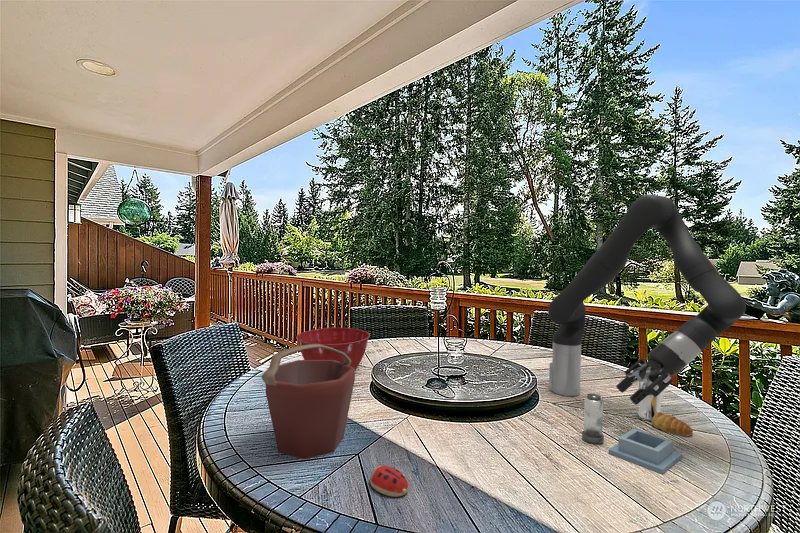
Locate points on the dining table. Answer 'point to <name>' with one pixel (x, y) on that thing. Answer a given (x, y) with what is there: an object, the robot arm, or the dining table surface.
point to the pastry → (671, 424)
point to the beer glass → (649, 404)
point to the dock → (646, 450)
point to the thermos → (593, 419)
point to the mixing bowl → (335, 344)
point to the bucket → (309, 402)
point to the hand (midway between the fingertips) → (625, 395)
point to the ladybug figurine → (389, 481)
